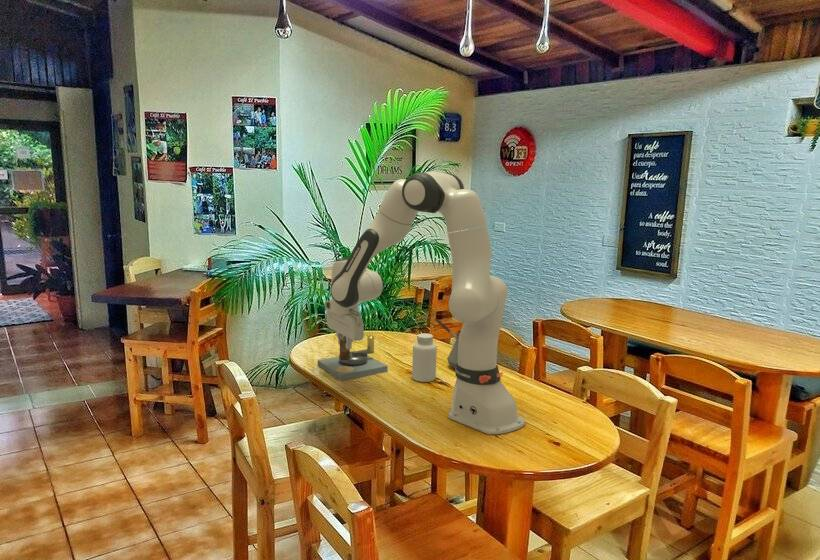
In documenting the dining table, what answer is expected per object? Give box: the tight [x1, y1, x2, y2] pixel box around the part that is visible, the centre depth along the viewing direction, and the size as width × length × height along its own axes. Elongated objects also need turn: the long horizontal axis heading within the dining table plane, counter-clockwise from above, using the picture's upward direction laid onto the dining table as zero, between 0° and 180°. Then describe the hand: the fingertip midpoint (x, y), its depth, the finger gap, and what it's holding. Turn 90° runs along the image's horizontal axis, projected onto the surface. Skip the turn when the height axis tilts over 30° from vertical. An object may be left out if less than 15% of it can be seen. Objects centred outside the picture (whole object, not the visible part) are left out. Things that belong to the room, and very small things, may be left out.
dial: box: [338, 335, 375, 366], centre depth 200 cm, size 10×13×8 cm
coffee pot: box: [432, 318, 462, 370], centre depth 204 cm, size 21×12×15 cm, turn 40°
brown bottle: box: [339, 335, 351, 360], centre depth 189 cm, size 3×3×9 cm
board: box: [317, 355, 389, 382], centre depth 198 cm, size 18×18×2 cm
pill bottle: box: [411, 332, 438, 383], centre depth 189 cm, size 8×8×15 cm
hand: (344, 346), depth 189 cm, fingers closed on brown bottle, 3 cm apart
